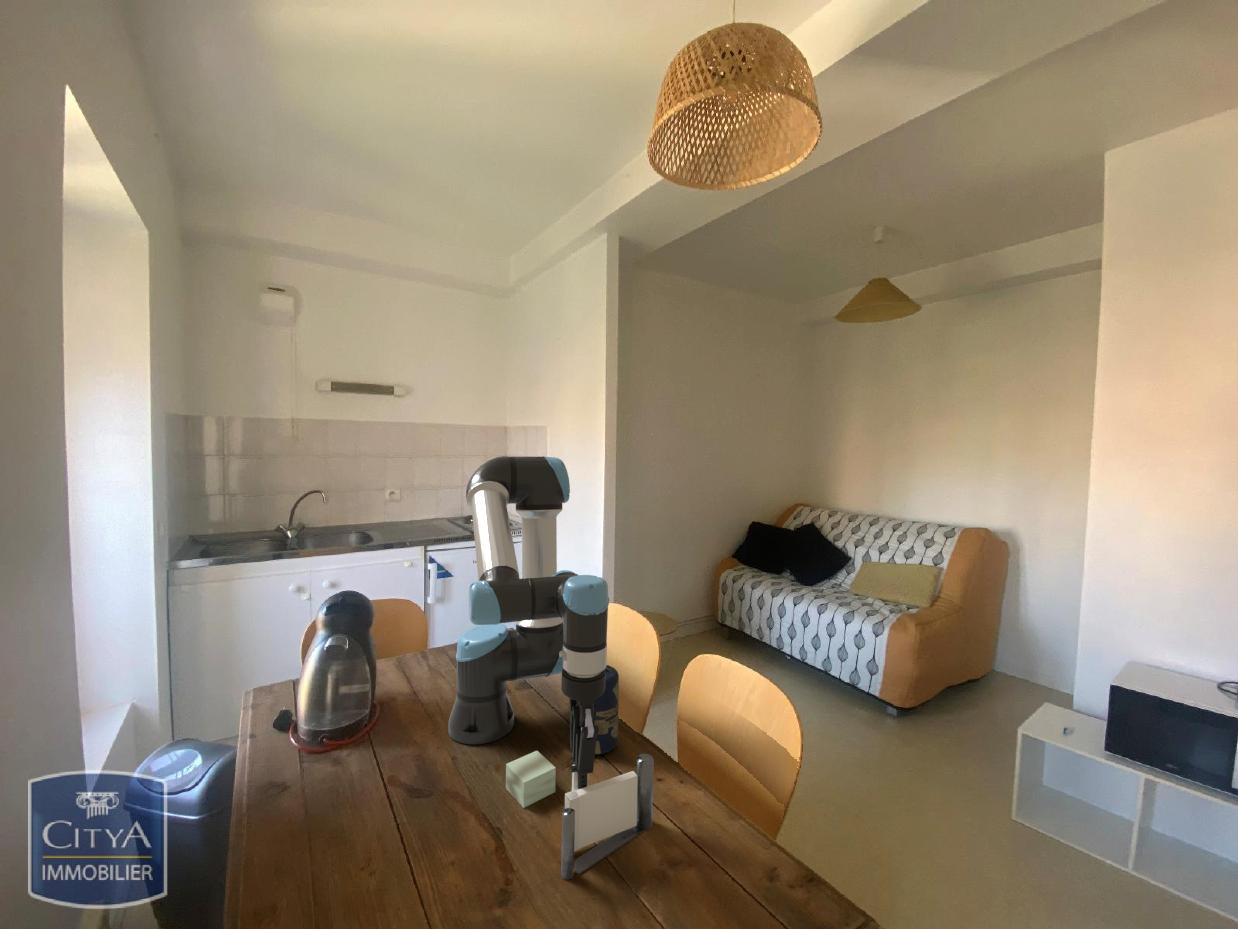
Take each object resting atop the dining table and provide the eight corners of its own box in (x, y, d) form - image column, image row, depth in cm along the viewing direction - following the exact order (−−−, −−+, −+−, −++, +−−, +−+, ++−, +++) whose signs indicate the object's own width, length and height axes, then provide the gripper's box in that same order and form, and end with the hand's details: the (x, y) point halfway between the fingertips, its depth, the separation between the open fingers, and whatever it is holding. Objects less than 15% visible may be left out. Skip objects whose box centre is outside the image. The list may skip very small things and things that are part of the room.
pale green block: (505, 788, 98) (506, 764, 98) (536, 774, 103) (536, 750, 103) (523, 809, 93) (523, 782, 93) (555, 792, 97) (555, 767, 97)
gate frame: (556, 871, 79) (558, 797, 79) (644, 815, 92) (645, 751, 91) (567, 884, 77) (569, 808, 76) (655, 825, 89) (657, 759, 89)
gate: (631, 819, 89) (632, 770, 89) (636, 826, 88) (638, 776, 87) (564, 846, 83) (565, 793, 83) (568, 854, 81) (569, 800, 81)
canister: (612, 761, 107) (614, 678, 107) (570, 754, 109) (571, 673, 108) (621, 736, 117) (623, 660, 116) (582, 730, 118) (583, 655, 118)
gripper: (556, 654, 90) (552, 781, 91) (569, 689, 78) (565, 835, 79) (596, 651, 93) (592, 775, 93) (615, 684, 80) (610, 826, 81)
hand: (579, 802), depth 86 cm, fingers closed
